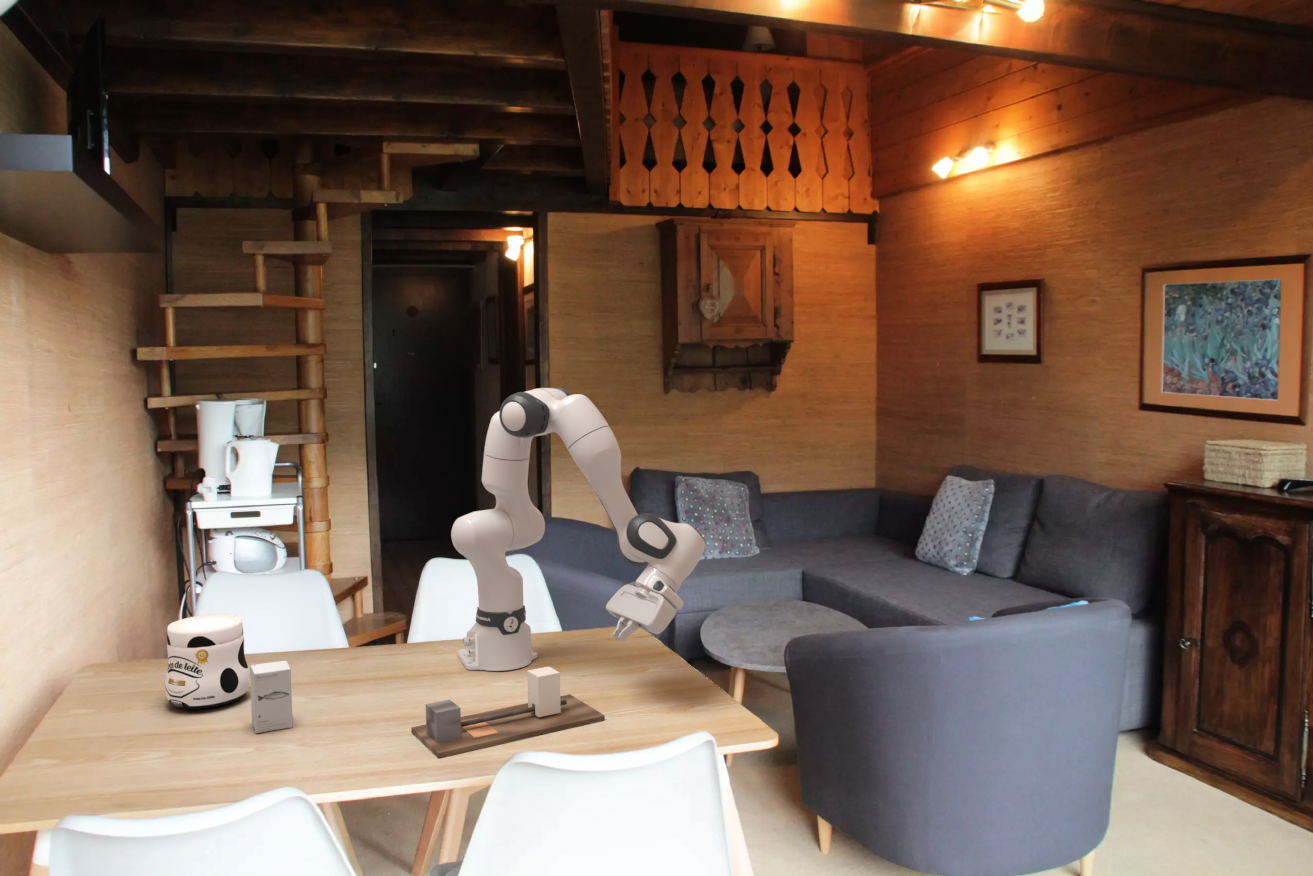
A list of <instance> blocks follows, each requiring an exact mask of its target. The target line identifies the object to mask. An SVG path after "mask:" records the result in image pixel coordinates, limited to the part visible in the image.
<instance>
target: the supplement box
mask: <svg viewBox="0 0 1313 876" xmlns="http://www.w3.org/2000/svg"><path fill="white" fill-rule="evenodd" d="M249 673H250V681H249V683H250V699H251V700H250V701H251V724H252V726H253V729H255V730H254V732H255V734H256V733H257V734H260V733H265V732H271V731H278V730H284V729H285V730H286V729H292V728H293V726H294V724H293V723H294V722H293V720H294V719H293V702H292V697H293V696H292V671H291V667H290V665H289V663H288V660H281V661H272V662H264V663H256V664H250V665H249Z"/></svg>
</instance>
